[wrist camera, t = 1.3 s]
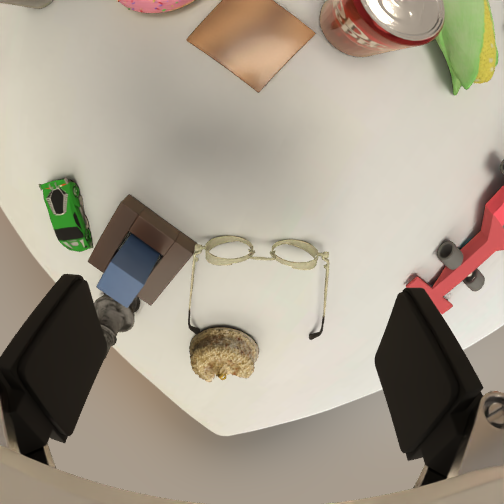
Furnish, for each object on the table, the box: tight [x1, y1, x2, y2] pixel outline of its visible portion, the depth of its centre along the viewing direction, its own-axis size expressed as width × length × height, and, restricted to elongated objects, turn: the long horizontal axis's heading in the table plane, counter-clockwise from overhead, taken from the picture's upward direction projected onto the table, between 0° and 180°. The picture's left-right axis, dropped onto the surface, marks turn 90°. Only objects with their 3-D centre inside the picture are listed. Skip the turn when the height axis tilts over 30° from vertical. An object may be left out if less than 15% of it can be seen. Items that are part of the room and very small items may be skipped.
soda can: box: [320, 0, 445, 57], centre depth 18 cm, size 7×7×12 cm
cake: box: [189, 327, 259, 382], centre depth 42 cm, size 10×10×5 cm
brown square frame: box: [88, 195, 197, 305], centre depth 35 cm, size 10×10×2 cm
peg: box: [96, 233, 160, 308], centre depth 33 cm, size 4×4×8 cm
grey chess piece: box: [94, 293, 140, 359], centre depth 35 cm, size 6×6×12 cm
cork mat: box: [187, 0, 316, 92], centre depth 24 cm, size 9×8×1 cm
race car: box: [406, 160, 504, 314], centre depth 33 cm, size 14×6×25 cm
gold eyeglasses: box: [188, 236, 329, 340], centre depth 37 cm, size 17×15×5 cm
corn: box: [435, 0, 498, 95], centre depth 18 cm, size 8×8×20 cm
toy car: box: [39, 178, 93, 252], centre depth 33 cm, size 10×5×2 cm, turn 5°
